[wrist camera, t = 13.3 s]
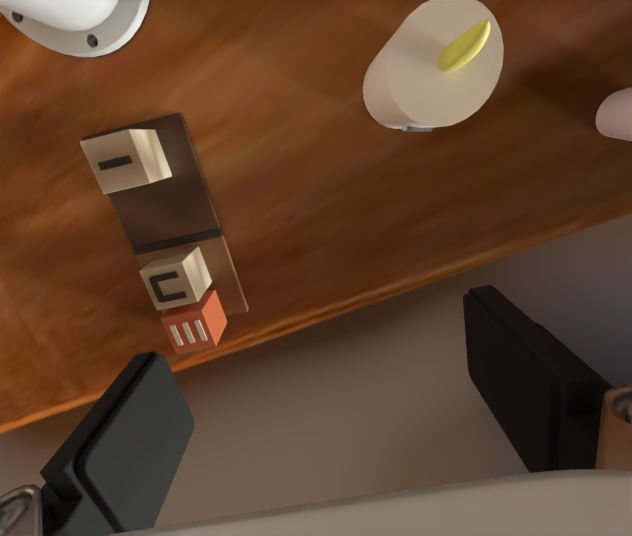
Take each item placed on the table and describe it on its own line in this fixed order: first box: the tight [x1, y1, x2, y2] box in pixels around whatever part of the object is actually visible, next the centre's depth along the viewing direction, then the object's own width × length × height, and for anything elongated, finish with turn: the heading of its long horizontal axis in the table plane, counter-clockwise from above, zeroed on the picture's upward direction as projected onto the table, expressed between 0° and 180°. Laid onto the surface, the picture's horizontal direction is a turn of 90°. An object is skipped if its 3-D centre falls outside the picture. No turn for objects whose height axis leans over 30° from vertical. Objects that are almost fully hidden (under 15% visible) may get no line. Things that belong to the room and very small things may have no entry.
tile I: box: [80, 129, 172, 194], centre depth 28 cm, size 4×4×4 cm
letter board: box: [82, 113, 249, 316], centre depth 33 cm, size 20×9×1 cm, turn 13°
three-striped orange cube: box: [161, 289, 227, 354], centre depth 33 cm, size 4×4×4 cm
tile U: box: [139, 246, 212, 310], centre depth 32 cm, size 4×4×4 cm
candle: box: [363, 0, 504, 131], centre depth 21 cm, size 6×6×15 cm
